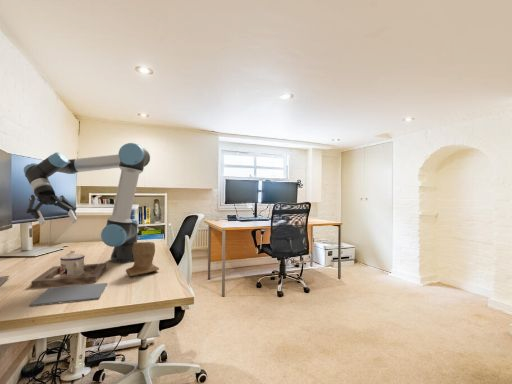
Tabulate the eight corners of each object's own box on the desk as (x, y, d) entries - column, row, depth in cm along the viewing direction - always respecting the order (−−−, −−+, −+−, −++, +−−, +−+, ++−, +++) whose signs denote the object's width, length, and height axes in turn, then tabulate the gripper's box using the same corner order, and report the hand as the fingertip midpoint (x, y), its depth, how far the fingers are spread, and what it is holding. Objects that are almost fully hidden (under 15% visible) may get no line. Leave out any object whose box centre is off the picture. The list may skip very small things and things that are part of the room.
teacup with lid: (56, 276, 115) (57, 250, 116) (80, 272, 123) (80, 247, 123) (65, 282, 108) (66, 254, 108) (89, 277, 115) (90, 251, 115)
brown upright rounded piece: (149, 267, 133) (150, 238, 133) (162, 272, 125) (163, 241, 125) (119, 273, 121) (120, 242, 121) (130, 279, 114) (131, 245, 114)
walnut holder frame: (105, 268, 129) (106, 263, 129) (95, 282, 109) (95, 276, 109) (52, 271, 122) (53, 266, 122) (31, 287, 101) (31, 281, 101)
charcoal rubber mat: (107, 284, 107) (107, 282, 107) (98, 299, 92) (99, 297, 92) (48, 289, 100) (48, 287, 100) (29, 306, 85) (29, 304, 85)
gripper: (66, 195, 139) (83, 225, 132) (7, 194, 116) (23, 230, 110) (73, 185, 137) (90, 215, 130) (13, 182, 114) (30, 218, 108)
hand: (59, 222), depth 120 cm, fingers open, 13 cm apart
